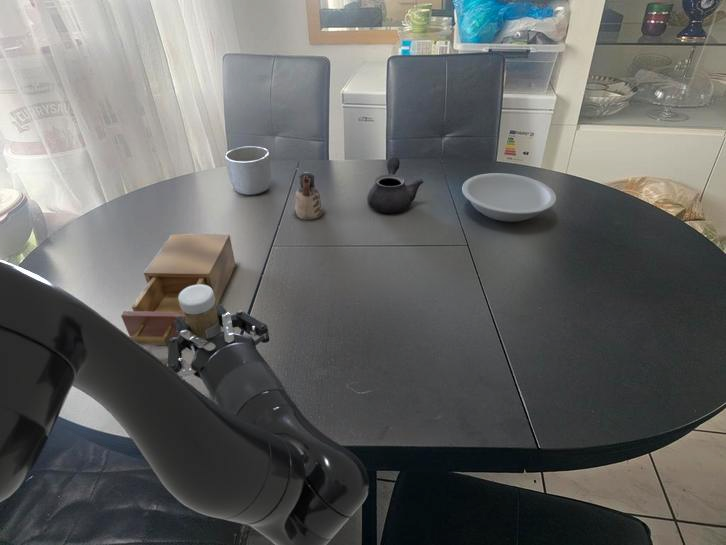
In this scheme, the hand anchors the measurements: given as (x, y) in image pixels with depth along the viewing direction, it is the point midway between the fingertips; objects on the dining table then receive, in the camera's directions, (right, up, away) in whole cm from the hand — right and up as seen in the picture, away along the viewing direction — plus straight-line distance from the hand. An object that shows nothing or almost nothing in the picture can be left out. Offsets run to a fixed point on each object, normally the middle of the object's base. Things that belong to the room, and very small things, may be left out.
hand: (196, 314), depth 65 cm
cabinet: (-11, +4, +31) cm, 33 cm away
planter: (-9, +31, +69) cm, 76 cm away
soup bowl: (+63, +22, +57) cm, 87 cm away
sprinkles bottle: (+2, -8, +3) cm, 8 cm away
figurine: (+10, +22, +56) cm, 61 cm away
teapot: (+33, +27, +63) cm, 76 cm away
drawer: (-12, -4, +19) cm, 23 cm away
